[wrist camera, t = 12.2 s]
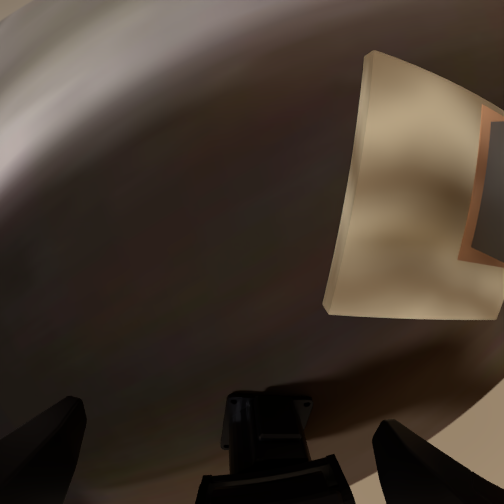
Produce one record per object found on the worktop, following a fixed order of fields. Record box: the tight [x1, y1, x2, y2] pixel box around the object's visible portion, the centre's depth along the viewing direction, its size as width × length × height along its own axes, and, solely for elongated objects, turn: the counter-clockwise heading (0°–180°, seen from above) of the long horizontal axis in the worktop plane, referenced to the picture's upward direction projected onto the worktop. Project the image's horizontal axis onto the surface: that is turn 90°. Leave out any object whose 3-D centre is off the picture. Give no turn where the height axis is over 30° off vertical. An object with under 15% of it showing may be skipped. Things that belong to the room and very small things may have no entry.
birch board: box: [323, 50, 504, 320], centre depth 18 cm, size 16×16×2 cm
